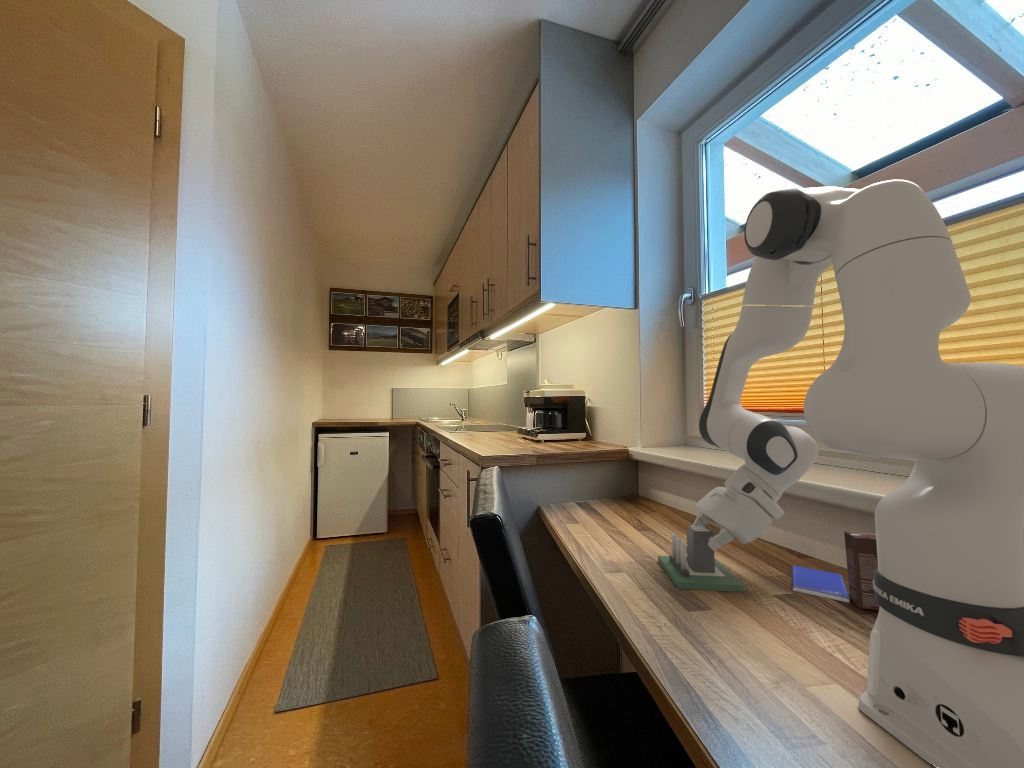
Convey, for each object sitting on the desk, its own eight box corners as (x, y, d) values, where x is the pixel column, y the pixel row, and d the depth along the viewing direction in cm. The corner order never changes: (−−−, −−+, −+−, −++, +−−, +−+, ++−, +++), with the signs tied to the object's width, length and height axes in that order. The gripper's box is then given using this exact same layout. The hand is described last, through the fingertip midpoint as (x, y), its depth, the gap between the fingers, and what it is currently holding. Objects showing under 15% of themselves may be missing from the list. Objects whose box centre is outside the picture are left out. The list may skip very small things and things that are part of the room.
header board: (744, 591, 73) (743, 552, 74) (677, 588, 74) (676, 549, 75) (714, 563, 87) (713, 530, 87) (658, 561, 88) (657, 528, 89)
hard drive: (849, 597, 69) (841, 574, 79) (792, 585, 74) (792, 564, 84) (849, 606, 69) (842, 582, 79) (792, 593, 74) (792, 572, 84)
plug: (715, 573, 78) (713, 531, 79) (694, 572, 79) (693, 530, 79) (707, 565, 82) (706, 526, 83) (687, 564, 83) (686, 525, 83)
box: (888, 603, 69) (884, 533, 70) (904, 615, 65) (899, 540, 66) (846, 597, 71) (842, 529, 72) (859, 609, 67) (855, 536, 68)
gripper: (715, 474, 91) (673, 515, 92) (762, 490, 71) (708, 544, 71) (736, 494, 91) (694, 535, 91) (789, 516, 70) (734, 570, 71)
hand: (700, 539), depth 81 cm, fingers open, 8 cm apart
